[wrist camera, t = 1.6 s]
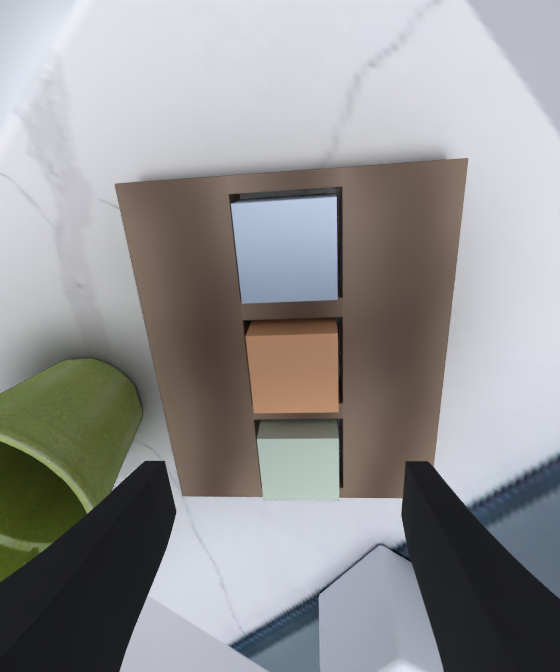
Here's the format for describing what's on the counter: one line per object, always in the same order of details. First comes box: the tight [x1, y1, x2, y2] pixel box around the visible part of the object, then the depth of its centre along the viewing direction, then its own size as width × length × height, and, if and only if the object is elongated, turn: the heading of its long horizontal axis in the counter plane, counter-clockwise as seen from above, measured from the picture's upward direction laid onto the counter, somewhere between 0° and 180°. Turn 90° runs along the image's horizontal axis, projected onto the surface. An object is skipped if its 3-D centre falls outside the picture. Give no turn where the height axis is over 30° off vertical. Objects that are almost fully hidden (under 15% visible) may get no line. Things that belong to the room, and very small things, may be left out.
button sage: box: [257, 419, 339, 501], centre depth 21 cm, size 4×4×2 cm
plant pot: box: [0, 358, 142, 582], centre depth 19 cm, size 9×9×9 cm
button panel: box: [115, 158, 468, 498], centre depth 20 cm, size 14×17×2 cm
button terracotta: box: [245, 317, 339, 413], centre depth 19 cm, size 4×4×2 cm
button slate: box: [231, 193, 338, 304], centre depth 16 cm, size 4×4×2 cm
